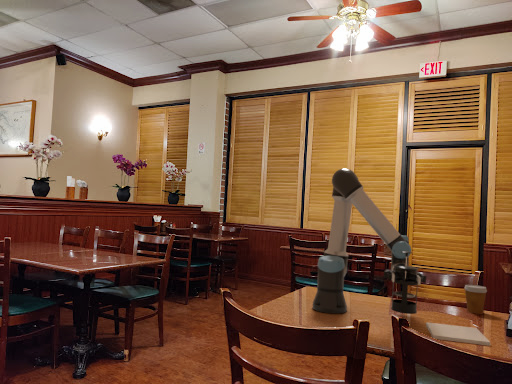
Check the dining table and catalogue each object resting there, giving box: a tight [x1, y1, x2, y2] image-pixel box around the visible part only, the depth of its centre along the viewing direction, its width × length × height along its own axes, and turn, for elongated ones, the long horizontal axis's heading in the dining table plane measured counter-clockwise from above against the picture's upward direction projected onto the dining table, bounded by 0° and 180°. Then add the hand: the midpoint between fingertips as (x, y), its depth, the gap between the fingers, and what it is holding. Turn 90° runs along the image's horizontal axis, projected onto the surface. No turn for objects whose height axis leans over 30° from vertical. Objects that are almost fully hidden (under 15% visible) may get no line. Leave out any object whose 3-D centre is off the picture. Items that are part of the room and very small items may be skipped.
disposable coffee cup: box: [463, 284, 488, 315], centre depth 181 cm, size 10×10×12 cm
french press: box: [390, 251, 419, 315], centre depth 151 cm, size 12×9×23 cm
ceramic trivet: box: [425, 321, 491, 347], centre depth 143 cm, size 18×18×1 cm
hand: (406, 279), depth 146 cm, fingers closed on french press, 8 cm apart
